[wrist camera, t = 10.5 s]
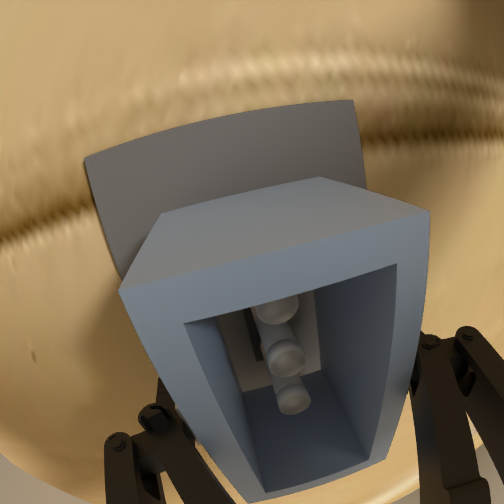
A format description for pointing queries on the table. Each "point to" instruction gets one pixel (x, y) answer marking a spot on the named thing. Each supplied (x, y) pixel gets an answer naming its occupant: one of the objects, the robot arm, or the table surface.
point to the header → (226, 184)
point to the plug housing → (277, 287)
